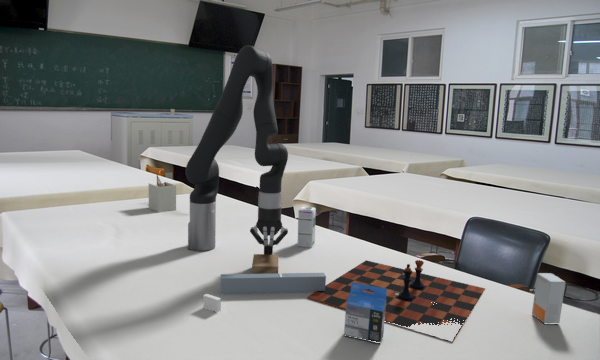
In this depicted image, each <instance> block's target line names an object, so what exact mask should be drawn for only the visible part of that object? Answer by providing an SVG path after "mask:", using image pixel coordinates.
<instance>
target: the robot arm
mask: <svg viewBox="0 0 600 360" xmlns="http://www.w3.org/2000/svg"><path fill="white" fill-rule="evenodd" d="M273 76H274V75H273V60H272V57H271V56H270V54H269V53H268V52H267V51H265V50H264V49H261V48H258V47H256V46H252V45H244V46H242V47H241V48H240V50H239V51H238V52H237V55H236V56H235V59H234V61H233V64H232V67H231V70H230V73H229V76H228V78H227V82H226V84H225V87H223V91H222V93H221V95H220V98H219V100H218V102H217V103H216V106H215V107H214V110H213V112H212V115H211V117H210V119H209V121H208V124H207V126H206V127H205V130H204V132H203V135H202V136H201V139H200V141H199V143H198V144H197V147H195V150H194V151H193V153H192V155H191V157H190V158H189V160H188V161H187V164H186V166H185V177H186V179H187V181H188V182H189V183H191V184H193V185H194V189H192V191H191V192H190V194H189V222H188V224H187V227H188V228H187V240H188V241H187V249H188V250H193V251H198V252H202V251H203V252H204V251H210V250H213V249H215V248H216V226H217V225H216V215H217V214H216V212H217V210H216V209H217V208H216V207H217V204H216V203H217V195H218V193H219V182H220V180H219V179H220V167H219V164H218V162H217V161H216V159H215V158H216V156H217V154H218V152H219V151H220V150H221V148H222V147H223V146H224V145H225V144H226V143H227V142H228V141H229V140H230V138H231V137H232V136H233V135H234V133H235V131H236V130H237V127H238V126H239V123H240V122H241V119H242V116H243V111H244V110H243V109H244V104H243V102H244V101H243V94H244V90H245V86H246V84H247V82H248V81H249V80H248V79H249V78H250V77H251V78H252V77H253V78H254V80H255V83H256V87H257V88H256V90H257V93H256V94H257V95H256V99H255V102H254V107H253V120H254V127H255V131H256V132H255V134H256V135H255V146H254V147H255V148H254V159H255V161H256V163H257V164H258V165H259V166H261V167H271V168H270V170H269V171H267V172H264V173H261V175H260V176H259V192H258V202H257V203H258V205H257V207H258V208H257V222H256V224H255V225H253V226H252V227H250V230H249V232H250V233H251V235H252V237H254V239H255V240H256V242H257V243H258V245H263V254H273V255H274V253H273V252H274V251H273V250H274V249H273V248H274V246H278V245H279V244H280V243H281V241H282V240H283V239H284V238H285V237H286V235H288V234H289V229H288V228H286V227H284V226H283V222H282V205H283V204H282V203H283V202H282V201H283V200H282V199H283V198H282V180H283V177H284V173H285V169H286V166H287V164H288V159H289V152H288V148H287V147H286V146H285V144H283V143H268V140H269V139H271V138H274V137H276V136H277V135H278V133H279V129H278V122H277V116H276V110H275V104H274V84H273V83H274V82H273V81H274V77H273ZM258 231H259V233H260V234H261V235H262V236H263V237H262V236H261V235H260V234H259V233H258ZM279 232H280V233H279ZM278 233H279V235H278V236H277V237H276V238H275V236H276V235H277V234H278Z"/></svg>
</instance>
